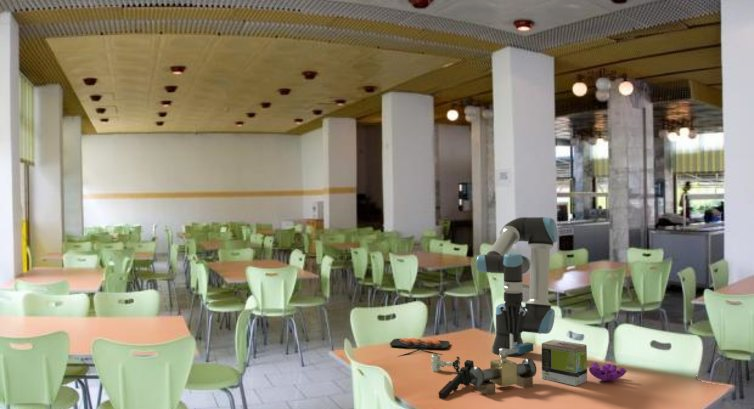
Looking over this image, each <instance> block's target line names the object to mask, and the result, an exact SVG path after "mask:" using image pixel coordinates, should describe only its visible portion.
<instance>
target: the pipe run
mask: <svg viewBox="0 0 754 409" xmlns="http://www.w3.org/2000/svg"><path fill="white" fill-rule="evenodd" d="M536 375H537V365H536V363H535V362H534V360H533V359H531V358H525V359H523V360H522V362H521V363H517V362H516V361H515V362H514V361H512V360H510V359H507V358H501V357H500V359H493V360H490V368H485V369H484V368H483V369H481V367H479V366H474V367H473V368H471V370H470V380H471V382H472V383H471V384H472V385H473V390H474V391H477V392H479V393H481V394H484V395H486V396H488V395H489V396H490V395H495V394H496V385H498V386H500V387H506V386H512V385H516V386H519V387H521V388H524V389H528V388H532V387H533V386H534V384H533V383H534V380H533V378H534V377H535V376H536Z"/></svg>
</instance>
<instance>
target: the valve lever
mask: <svg viewBox="0 0 754 409" xmlns="http://www.w3.org/2000/svg"><path fill="white" fill-rule="evenodd" d="M531 352H534V343H532V342H523V344H518V345H515V348H510V349H506V348H500V349H499V354H498V356H499V357H500V359H501V358H506V359H507V358H508V356H507V355H509V354H513V353H517V354H523V353H524V354H527V353H531ZM524 354H523V355H524Z"/></svg>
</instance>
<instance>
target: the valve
mask: <svg viewBox="0 0 754 409" xmlns="http://www.w3.org/2000/svg"><path fill="white" fill-rule="evenodd" d="M430 357H431V361H430V365H431V366H430V368H431V369H430V370H431V371H432V372H440V371H441V368H445V367H446V366H447V367H451V366H452V368H453V369H454V370H455V372H456V373H457V372H458V371H460V369H461V367H460V364H461V361H460V360H461V358H460V356H456V359H455V360H454V361H453V362H451V361H446V360H445V359H442V360H441V355H439V353H438V354H433V353H432V354H431V356H430Z"/></svg>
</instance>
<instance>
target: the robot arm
mask: <svg viewBox="0 0 754 409" xmlns="http://www.w3.org/2000/svg"><path fill="white" fill-rule="evenodd" d="M558 234H559V233H558V227H557V223H556V221H555V219H554V218H552V217H544V216H543V217H542V216H540V217H538V216H537V217H536V216H535V217H534V216H533V217H530V216H529V217H528V216H527V217H526V216H524V217H523V216H521V217H518V218H514V219H512V220H510V221H509V222H507V223H506V224H505V225H504V226H502V228H501V230H500V232H499V236H498V237H497V238H496V239H495V240H496V241H494V243H493V244H492V246H491V248H490V249H489V251H488V252H487V253H486V254H479V255H477V257H476V259H475V261H476V264H475V266H476V270H477V272H480V273H485V274H487V273H491V274H503V291H504V292H503V301H504V303H501V304H498V305H497V306H496V307H495V337H494V341H493V344H492V348H491V350H492V351H491V352H492V353H493V354H496V355H499V349H500V348H506V349H510V348H515V345H518V344H523V343H524V342H523V338H522V333H531V334H539V335H540V334H544V335H545V334H546V335H547V334H549V333H551V332H552V330H553V328H554V324H555V317H556V314H555V313H556V311H555V309H554V308H552V304H551V302H549V285H550V284H549V282H550V281H549V279H550V278H549V277H550V257H551V255H550V252H551V249H552V248H553V247H554V244H555V243H557V242H558V238H559V236H558ZM518 242H527V245H528V247H529V248H530V259H529V257H527V256H525V255H522V254H521V253H517V252H516V253H513V252H511V253H509V252H510V251H511V249H512V247H513V246H515V244H517V243H518ZM528 271H529V288H528V290H529V291H528V300H527V301H525V302H524V303H525V304H524V306H523V304H522V303H523V301H524V298H523V296H524V295H523V294H524V293H523V290H524V289H523V276H524V274H526V273H528ZM524 354H525V353H523V354H517V353H513V354H509V355H507V357H517V356H522V355H524Z"/></svg>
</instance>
